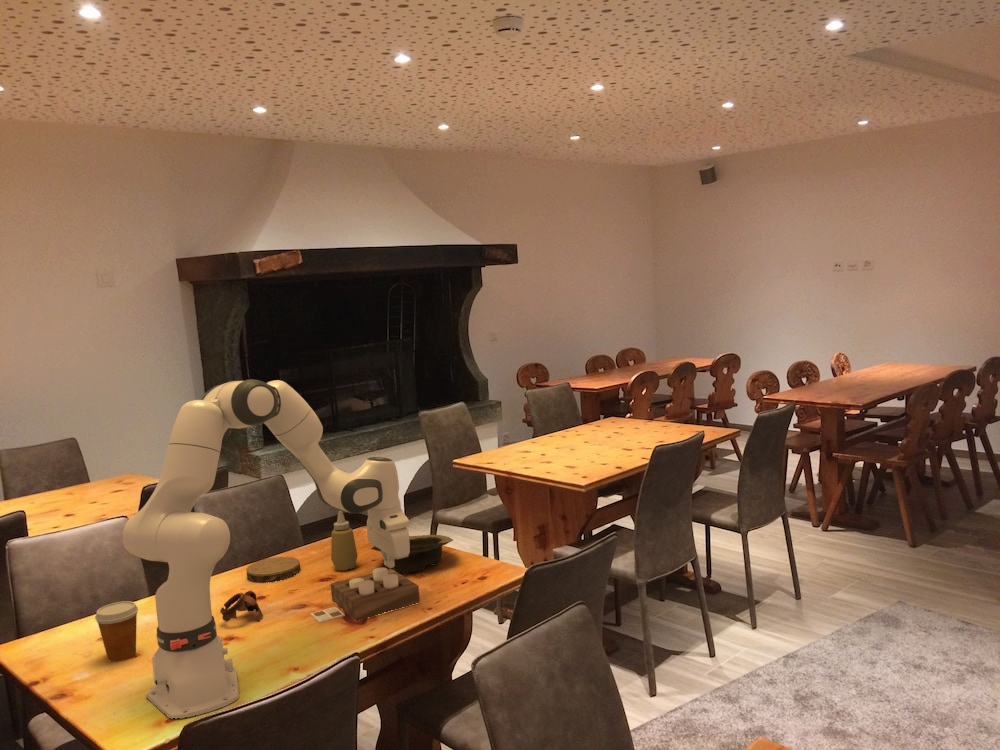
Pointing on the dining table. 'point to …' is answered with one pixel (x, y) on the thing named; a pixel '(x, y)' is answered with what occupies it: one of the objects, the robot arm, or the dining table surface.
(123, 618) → the disposable coffee cup
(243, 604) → the pottery mug
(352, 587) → the egg
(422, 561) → the stone bowl
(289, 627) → the dining table surface
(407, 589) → the button board
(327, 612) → the tile
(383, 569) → the beige egg
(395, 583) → the button front outer
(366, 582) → the button front inner
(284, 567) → the brown wooden disc
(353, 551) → the squeeze bottle
